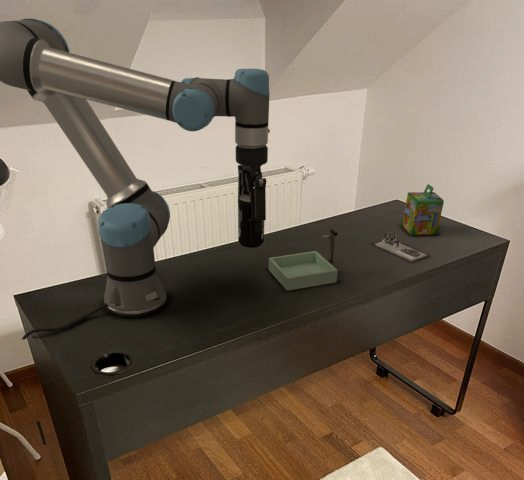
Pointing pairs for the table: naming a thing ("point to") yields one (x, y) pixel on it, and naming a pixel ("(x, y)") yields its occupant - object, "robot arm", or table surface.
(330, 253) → the tap
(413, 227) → the chalk box
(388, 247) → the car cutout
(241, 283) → the table surface
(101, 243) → the robot arm
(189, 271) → the table surface
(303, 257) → the sink
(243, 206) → the beverage can
